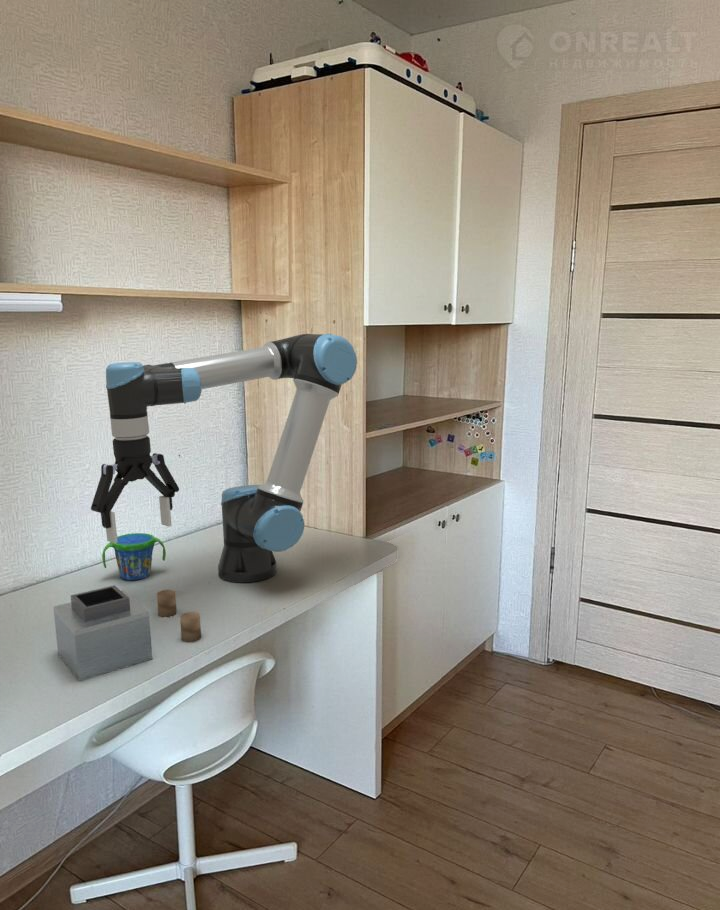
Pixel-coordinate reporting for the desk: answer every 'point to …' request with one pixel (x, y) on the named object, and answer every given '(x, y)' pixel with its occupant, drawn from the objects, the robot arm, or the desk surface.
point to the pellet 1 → (166, 603)
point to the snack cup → (134, 554)
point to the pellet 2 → (190, 627)
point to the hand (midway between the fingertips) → (140, 533)
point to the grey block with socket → (102, 632)
